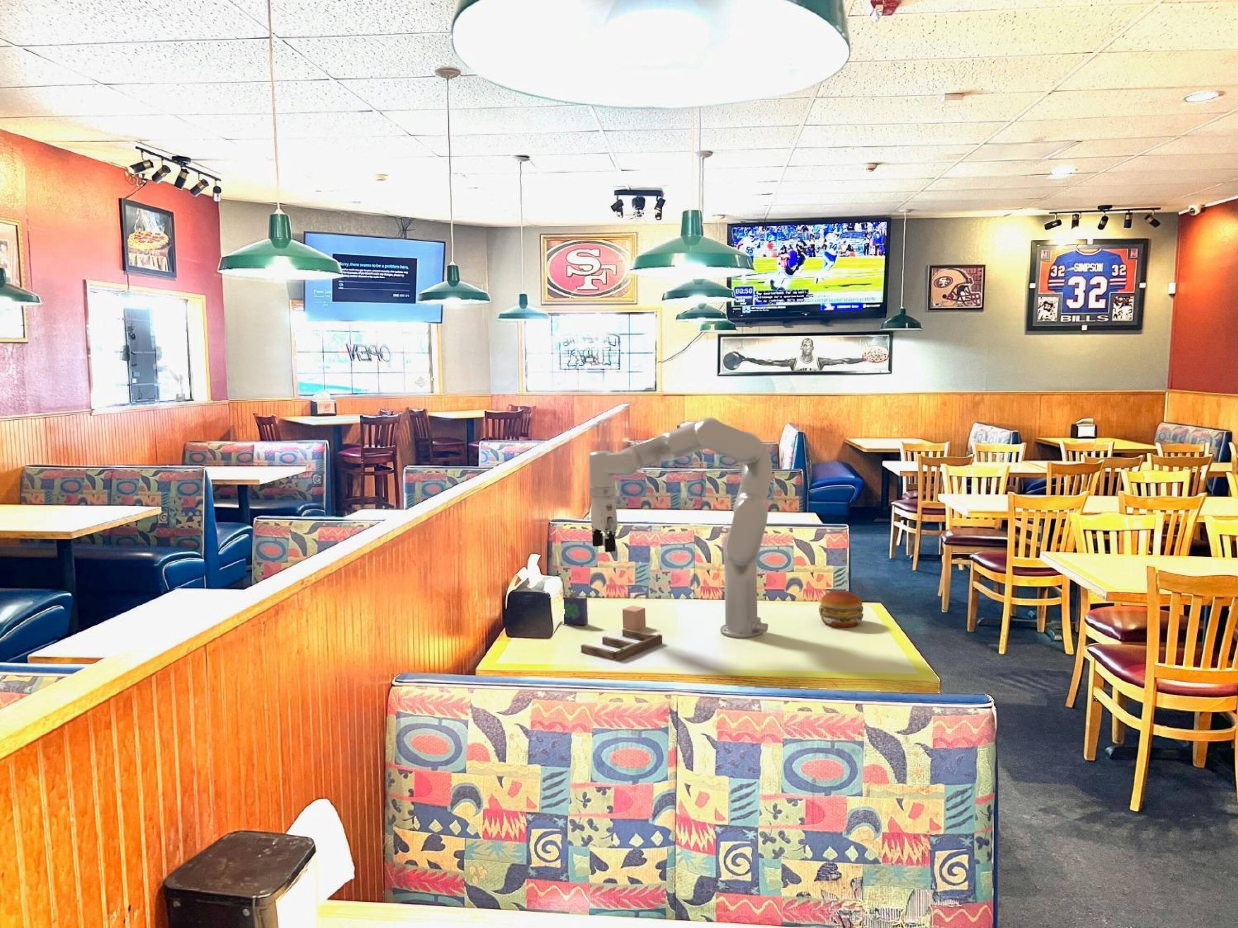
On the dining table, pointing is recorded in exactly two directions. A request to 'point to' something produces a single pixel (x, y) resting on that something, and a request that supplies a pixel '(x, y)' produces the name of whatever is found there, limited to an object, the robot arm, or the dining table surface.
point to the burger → (841, 609)
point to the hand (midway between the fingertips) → (603, 548)
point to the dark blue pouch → (575, 610)
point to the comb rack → (624, 645)
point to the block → (634, 618)
